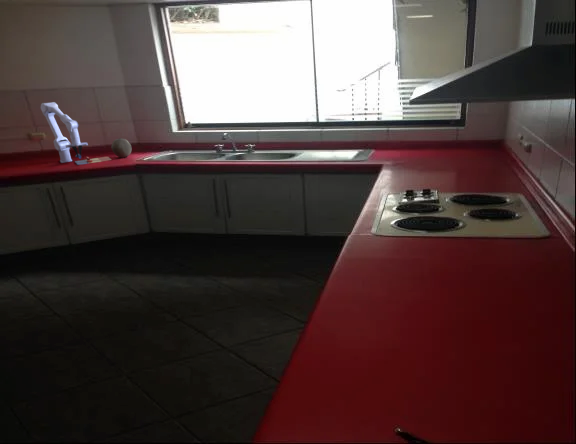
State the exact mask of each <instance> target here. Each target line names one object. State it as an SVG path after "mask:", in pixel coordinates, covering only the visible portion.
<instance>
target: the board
mask: <svg viewBox="0 0 576 444" xmlns="http://www.w3.org/2000/svg"><path fill="white" fill-rule="evenodd" d="M90 160H93V162H90V163H87V159H79V160H75V161H74V163H75V164H76V165H77V166H81V165H87V164H93V163H94V164H95V163H101V162H107V161H113V160H112V158H110V157H109V156H102V157H94V158H90Z"/></svg>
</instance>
